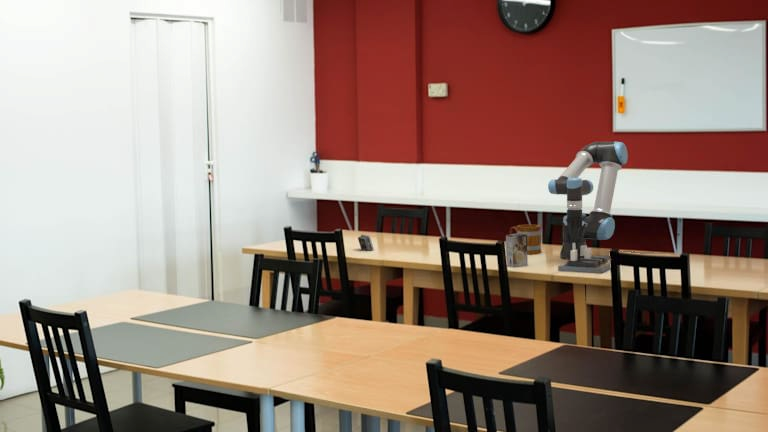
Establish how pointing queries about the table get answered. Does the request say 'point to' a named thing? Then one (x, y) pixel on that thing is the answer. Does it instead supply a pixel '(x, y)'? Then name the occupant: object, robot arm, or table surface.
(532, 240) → the mug
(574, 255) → the breaker near
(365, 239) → the electrical switch
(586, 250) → the block
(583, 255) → the block
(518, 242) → the coffee box
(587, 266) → the panel
